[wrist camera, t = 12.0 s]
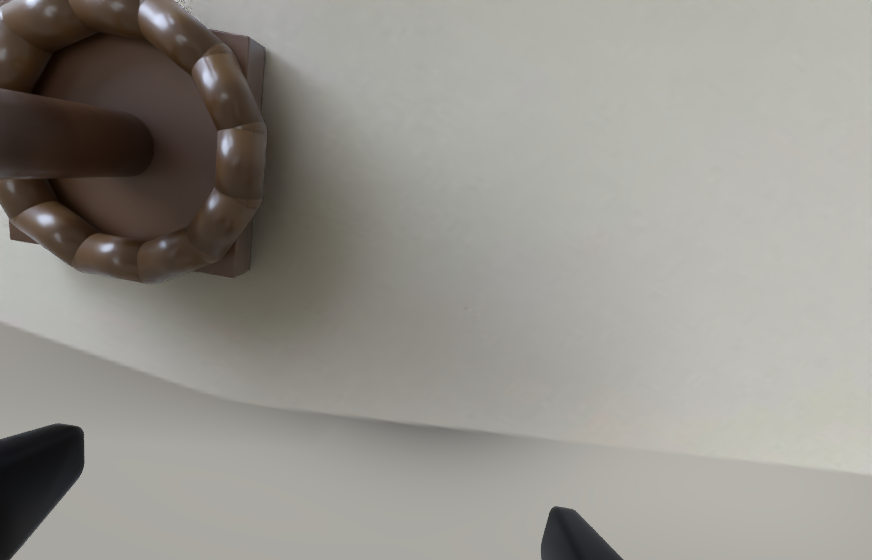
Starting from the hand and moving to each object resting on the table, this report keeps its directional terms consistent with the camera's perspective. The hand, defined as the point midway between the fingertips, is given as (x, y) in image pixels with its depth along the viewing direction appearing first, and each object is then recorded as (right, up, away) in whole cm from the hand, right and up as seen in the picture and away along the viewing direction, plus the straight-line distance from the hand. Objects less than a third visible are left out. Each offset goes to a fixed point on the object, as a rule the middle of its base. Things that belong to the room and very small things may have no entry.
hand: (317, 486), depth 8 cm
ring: (-9, +9, +7) cm, 15 cm away
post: (-10, +9, +10) cm, 16 cm away
